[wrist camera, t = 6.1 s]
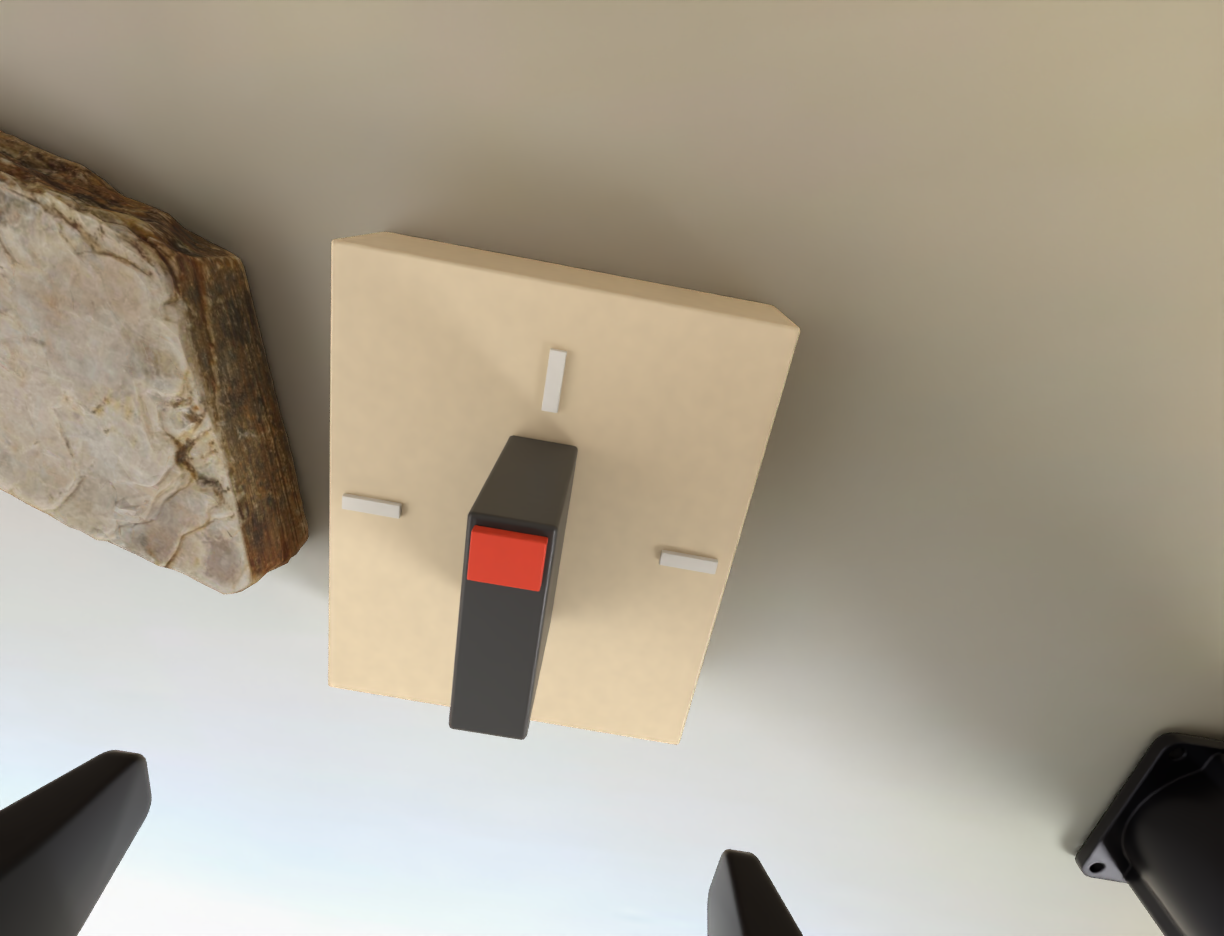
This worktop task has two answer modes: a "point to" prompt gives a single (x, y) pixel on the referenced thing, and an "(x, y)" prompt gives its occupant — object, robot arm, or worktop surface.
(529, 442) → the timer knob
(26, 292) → the stone
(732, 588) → the worktop surface
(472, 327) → the panel
